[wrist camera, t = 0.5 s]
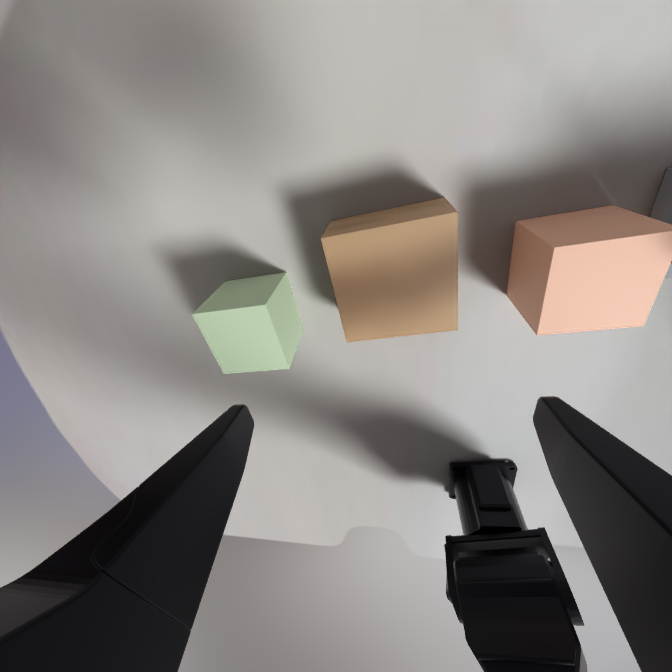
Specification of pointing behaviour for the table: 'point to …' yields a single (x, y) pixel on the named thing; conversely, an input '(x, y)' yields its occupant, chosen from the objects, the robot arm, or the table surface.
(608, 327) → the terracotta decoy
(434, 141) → the table surface
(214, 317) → the sage block
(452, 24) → the table surface
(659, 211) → the card
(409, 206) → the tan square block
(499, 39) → the table surface
